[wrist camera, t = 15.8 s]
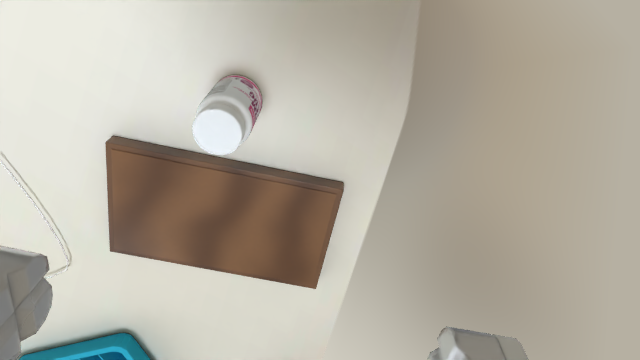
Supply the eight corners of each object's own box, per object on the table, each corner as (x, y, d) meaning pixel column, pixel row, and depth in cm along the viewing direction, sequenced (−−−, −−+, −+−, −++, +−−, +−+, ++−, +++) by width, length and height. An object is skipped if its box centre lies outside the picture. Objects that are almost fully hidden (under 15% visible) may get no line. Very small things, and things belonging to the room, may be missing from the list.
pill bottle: (272, 106, 42) (259, 143, 34) (233, 129, 43) (212, 170, 36) (243, 64, 40) (222, 93, 32) (203, 89, 41) (174, 123, 34)
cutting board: (343, 182, 46) (343, 190, 44) (316, 279, 52) (315, 289, 51) (112, 135, 44) (104, 142, 42) (115, 242, 51) (109, 252, 49)
